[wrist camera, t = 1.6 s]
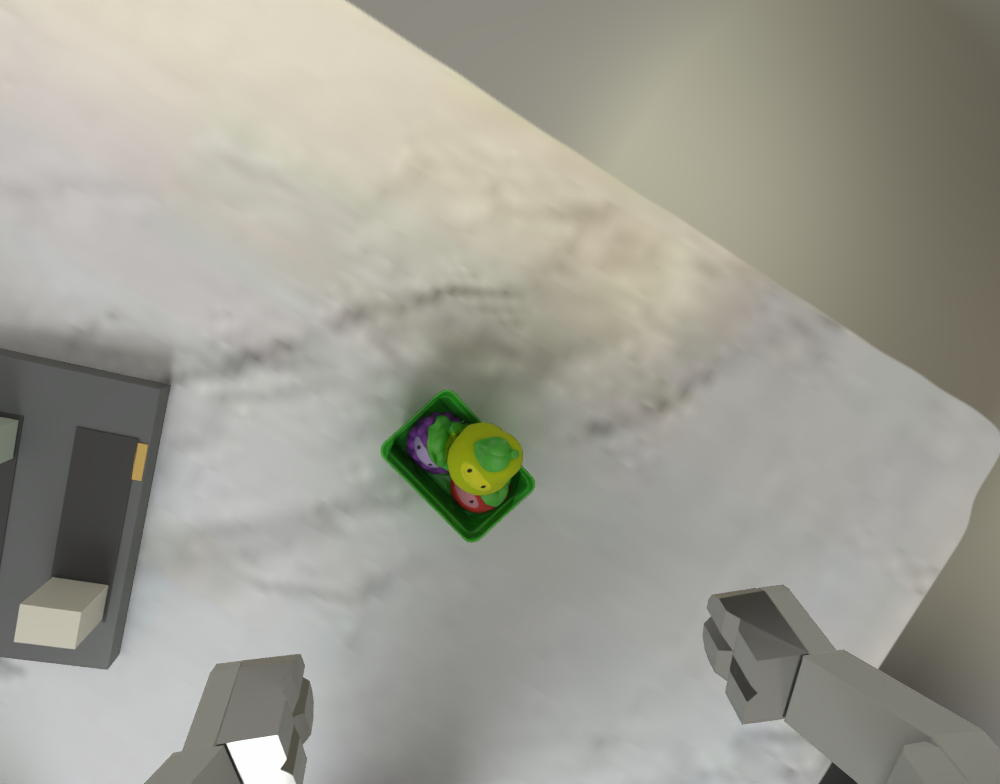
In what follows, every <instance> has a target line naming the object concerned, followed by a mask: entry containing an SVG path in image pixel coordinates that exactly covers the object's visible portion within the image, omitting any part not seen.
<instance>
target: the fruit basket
mask: <svg viewBox="0 0 1000 784" xmlns="http://www.w3.org/2000/svg"><path fill="white" fill-rule="evenodd" d="M381 455H382V457H383V459H384V460H385V461H386V462H387V463H389V464H390V465H391V466H392V467H393V468H394V469H395V470H396V471H397V472H398V473H399V474H400V475H401V476H402V477H403V478H404V479H405V480H406V481H407V482H408V483H409V484H410V485H411V486H412V487H413V488H414V489H415V490H416V491H417V492H418V493H419V494H420V495H421V496H422V497H423V498H424V499H425V500H426V501H427V503H428V504H429V505H430V506H431V507H433V508H434V509H435V510H436V511H437V512H438V513H439V514H440V515H441V516H442V517H443V518H444V519H445V520H446V521H447V522H448V524H449V525H451V526H452V528H453V529H454V530H455V531H456V532H457V533H458V534H459V535H460V536H461V537H462V538H463V539H464V540H466V541H467V542H476V541H478V540H480V539H481V538H482V537H483V536H484V535H485V534H486V533H487V532H488V531H489V530H491V529H492V528H493V527H494V526H495V525H496V524H497V523H498V522H499V521H500V520H501V519H502V518H503V517H505V516H506V515H507V514H508V513H509V512H510V511H511V510H512V509H513V508H515V507H516V506H517V505H518V504H519V503H520V502H521V501H523V500H524V499H525V498H526V497H527V496H528V495H529V494H530V493H531V492H532V491H533V490H534V488H535V481H534V478H533V477H532V476H531V475H530V474H529V473H528V472H527V471H526V470H525V469H524V468H523V466H522V461H523V452H522V448H521V446H520V444H519V442H518V441H517V440H516V439H515V438H514V437H513V436H511V435H510V434H508V433H505V432H504V431H503V430H502V429H500V428H499V427H497V426H495V425H493V424H490V423H482V422H481V421H480V420H479V419H478V418H477V417H476V416H475V414H474V413H473V412H472V411H471V410H470V409H469V408H468V407H467V406H466V405H465V404H464V402H463V401H462V400H461V399H460V398H459V397H458V396H457V395H456V394H455V393H454V392H453V391H450V390H443V391H441V392H439V393H438V394H437V395H436V396H435V397H434V398H433V399H432V400H430V401H429V402H428V403H427V404H426V405H425V406H424V407H423V408H422V409H421V410H420V411H419V412H417V413H416V414H415V415H414V416H413V417H412V418H411V419H410V420H409V421H408V422H407V423H405V424H404V425H403V426H402V427H401V428H400V429H399V430H398V431H397V432H395V433H394V434H393V435H392V436H391V437H390V438H389V439H388V440H386V441H385V442H384V443H383V445H382V447H381Z"/></svg>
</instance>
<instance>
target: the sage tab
mask: <svg viewBox="0 0 1000 784" xmlns="http://www.w3.org/2000/svg"><path fill="white" fill-rule="evenodd" d="M18 422H19V420H15V419H10V418H4V417H0V464H1V463H3V462H5V461H8V460H10V459H12V458H13V453H14V447H15V441H16V434H17V428H18Z"/></svg>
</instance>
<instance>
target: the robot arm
mask: <svg viewBox="0 0 1000 784" xmlns="http://www.w3.org/2000/svg"><path fill="white" fill-rule="evenodd" d="M707 610H708V612H709V613H710V615H711V617H710V618H709V619H708V620H707V621H706V622H705V623H704V628H703V642H704V648H705V652H706V654H707V657H708V660H709V662H710V664H711V666H712V668H713V670H714V672H715V673H716V674H718V675H719V676H721V677H722V678H724V679H725V680H726V681H727V685H726V691H725V693H726V695H727V697H728V699H729V701H730V703H731V705H732V706H733V708H734V710H735V712H736V714H737V716H738V718H739V720H740V721H741V723H742V724H749V723H757V722H764V721H772V720H779V719H785V720H784V722H786V723H787V724H788V725H789V726H790V727H792V728H793V729H794V730H795V731H796V732H798V733H799V734H800V735H801V736H802V737H804V738H805V739H806V740H807V741H808V742H810V743H811V744H812V745H813V746H814V747H815V748H817V749H818V750H819V751H820V752H821V753H823V754H824V755H825V756H826V757H827V758H829V759H830V760H831V761H832V762H833V763H835V764H836V765H837V766H838V767H839V768H841V769H842V770H843V771H844V772H845V773H847V774H848V775H849V776H850V777H851V778H852V779H854V780H855V781H856V782H857V783H858V784H1000V749H999V748H998V747H997V746H996V745H995V744H994V743H993V741H992V740H991V739H990V738H989V737H988V736H987V735H986V734H985V733H984V731H983V730H982V729H980V728H978V727H976V726H975V725H973V724H971V723H969V722H968V721H966V720H964V719H963V718H961V717H959V716H957V715H956V714H954V713H952V712H950V711H949V710H947V709H945V708H944V707H942V706H940V705H938V704H937V703H935V702H933V701H931V700H930V699H928V698H926V697H925V696H923V695H921V694H919V693H918V692H916V691H914V690H913V689H911V688H909V687H907V686H906V685H904V684H902V683H900V682H899V681H897V680H895V679H893V678H892V677H890V676H888V675H887V674H885V673H883V672H881V671H880V670H878V669H876V668H875V667H873V666H871V665H869V664H868V663H866V662H864V661H863V660H861V659H859V658H857V657H856V656H854V655H852V654H850V653H849V652H847V651H845V650H836V649H835V648H834V646H833V645H832V644H831V643H830V641H829V640H828V639H827V637H826V636H825V635H824V633H823V632H822V631H821V630H820V628H819V627H818V626H817V624H816V623H815V622H814V621H813V619H812V618H811V617H810V615H809V614H808V613H807V612H806V610H805V609H804V608H803V606H802V605H801V604H800V603H799V601H798V600H797V599H796V597H795V596H794V595H793V594H792V592H791V591H790V590H789V588H787V587H786V586H784V585H776V586H769V587H762V588H758V589H757V588H752V589H746V590H739V591H733V592H726V593H720V594H714V595H711V596H710V598H709V599H708V604H707ZM304 668H305V665H304V662H303V659H302V656H301V654H295V655H286V656H277V657H269V658H260V659H251V660H244V661H236V662H228V663H220V664H216V666H215V667H214V668H213V670H212V671H211V673H210V675H209V678H208V681H207V683H206V686H205V689H204V692H203V694H202V697H201V700H200V703H199V706H198V708H197V711H196V714H195V717H194V720H193V722H192V725H191V728H190V731H189V734H188V736H187V739H186V742H185V745H184V747H183V750H182V751H181V752H175V753H173V754H172V755H171V756H170V757H169V758H168V759H167V760H166V761H165V762H164V763H163V764H162V765H161V766H160V768H159V769H158V770H157V771H156V772H155V773H154V774H153V775H152V776H151V777H150V778H149V779H148V780H147V781H146V782H145V783H144V784H303V779H304V773H305V768H306V762H307V757H306V754H305V751H304V748H303V744H304V743H305V741H306V740H307V739H308V738H309V736H310V735H311V731H312V724H313V708H314V701H313V693H312V688H311V684H310V681H308V680H307V679H305V678H304V677H303V673H304Z"/></svg>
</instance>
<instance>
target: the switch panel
mask: <svg viewBox="0 0 1000 784" xmlns="http://www.w3.org/2000/svg"><path fill="white" fill-rule="evenodd" d="M170 386H171V385H167V384H162V383H158V382H153V381H148V380H144V379H139V378H134V377H130V376H125V375H120V374H116V373H111V372H107V371H102V370H97V369H93V368H88V367H83V366H79V365H74V364H69V363H65V362H60V361H55V360H51V359H46V358H41V357H37V356H32V355H27V354H23V353H18V352H13V351H9V350H4V349H0V417H4V418H10V419H15V420H19V422H18V428H17V434H16V441H15V447H14V453H13V458H12V459H10V460H8V461H5V462H3V463H1V464H0V657H5V658H14V659H22V660H31V661H39V662H47V663H56V664H64V665H73V666H81V667H90V668H98V669H107V670H108V668H109V667H110V666H111V664H112V663H113V662H114V661H115V659H116V658H117V657H118V655H119V653H120V647H121V642H122V637H123V632H124V627H125V621H126V616H127V611H128V606H129V600H130V595H131V590H132V585H133V579H134V574H135V569H136V564H137V558H138V553H139V548H140V543H141V538H142V532H143V527H144V522H145V517H146V511H147V506H148V501H149V496H150V490H151V485H152V480H153V475H154V469H155V464H156V459H157V454H158V448H159V443H160V438H161V433H162V428H163V422H164V417H165V412H166V407H167V401H168V396H169V391H170ZM52 577H56V578H63V579H70V580H76V581H83V582H90V583H97V584H104V585H108V591H107V596H106V601H105V607H104V612H103V618H102V620H101V621H100V622H99V623H98V624H97V626H96V627H95V628H94V629H93V630H92V631H91V632H90V633H89V634H88V635H87V637H86V638H85V639H84V640H83V641H82V642H81V643H80V644H79V645H78V646H77V647H76V649H67V648H59V647H51V646H43V645H35V644H27V643H19V642H14V637H15V631H16V625H17V619H18V613H19V607H20V604H21V603H22V602H23V601H24V600H26V599H27V598H28V597H29V596H30V595H32V594H33V593H34V592H35V591H37V590H38V589H39V588H40V587H41V586H43V585H44V584H45V583H46V582H48V581H49V580H50V579H51V578H52Z"/></svg>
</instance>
